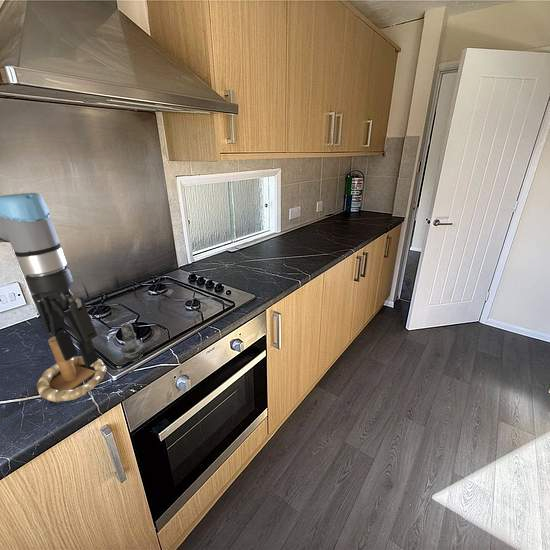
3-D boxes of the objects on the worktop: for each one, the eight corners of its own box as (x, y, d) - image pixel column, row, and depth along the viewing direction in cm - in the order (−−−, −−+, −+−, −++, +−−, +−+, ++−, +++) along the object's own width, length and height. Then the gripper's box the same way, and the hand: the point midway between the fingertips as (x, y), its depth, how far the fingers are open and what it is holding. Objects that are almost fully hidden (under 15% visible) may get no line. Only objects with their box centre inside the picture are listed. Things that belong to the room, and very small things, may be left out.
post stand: (46, 389, 74) (27, 345, 68) (76, 368, 81) (60, 327, 75) (68, 397, 71) (49, 352, 66) (97, 375, 78) (82, 332, 72)
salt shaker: (138, 348, 88) (129, 314, 83) (150, 355, 85) (141, 320, 80) (119, 359, 83) (108, 323, 79) (130, 367, 80) (120, 330, 76)
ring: (23, 393, 70) (20, 385, 69) (74, 355, 83) (73, 348, 82) (73, 411, 67) (71, 403, 66) (118, 369, 80) (117, 362, 79)
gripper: (95, 267, 61) (124, 358, 69) (36, 260, 68) (69, 343, 76) (60, 282, 54) (96, 379, 63) (-2, 273, 61) (38, 361, 70)
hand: (81, 359), depth 70 cm, fingers open, 6 cm apart
